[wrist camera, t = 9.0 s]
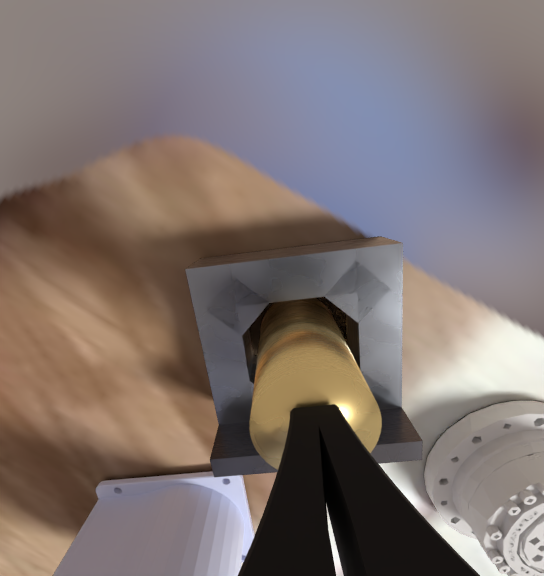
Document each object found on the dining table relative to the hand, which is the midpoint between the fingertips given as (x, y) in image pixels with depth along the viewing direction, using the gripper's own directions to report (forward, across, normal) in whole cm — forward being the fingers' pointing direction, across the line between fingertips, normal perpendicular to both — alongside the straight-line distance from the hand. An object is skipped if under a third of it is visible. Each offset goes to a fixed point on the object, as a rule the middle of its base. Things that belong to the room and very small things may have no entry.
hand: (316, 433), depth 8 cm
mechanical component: (+8, -12, +11) cm, 18 cm away
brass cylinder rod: (+7, 0, 0) cm, 7 cm away
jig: (+7, 0, 0) cm, 7 cm away
